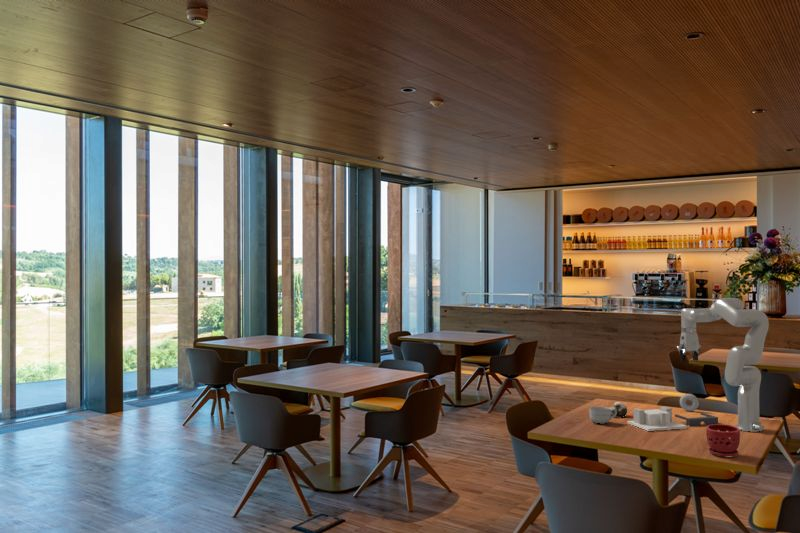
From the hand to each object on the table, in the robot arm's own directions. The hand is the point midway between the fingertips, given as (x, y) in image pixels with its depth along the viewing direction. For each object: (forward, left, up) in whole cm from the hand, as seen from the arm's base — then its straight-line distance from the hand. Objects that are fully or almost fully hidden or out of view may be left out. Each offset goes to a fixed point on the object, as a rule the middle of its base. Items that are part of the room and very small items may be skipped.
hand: (689, 360), depth 366 cm
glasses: (-21, +13, -29) cm, 38 cm away
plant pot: (-76, +43, -29) cm, 92 cm away
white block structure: (-22, +38, -29) cm, 52 cm away
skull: (+4, +43, -29) cm, 52 cm away
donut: (+3, -2, -29) cm, 29 cm away
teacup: (-9, +60, -29) cm, 67 cm away
